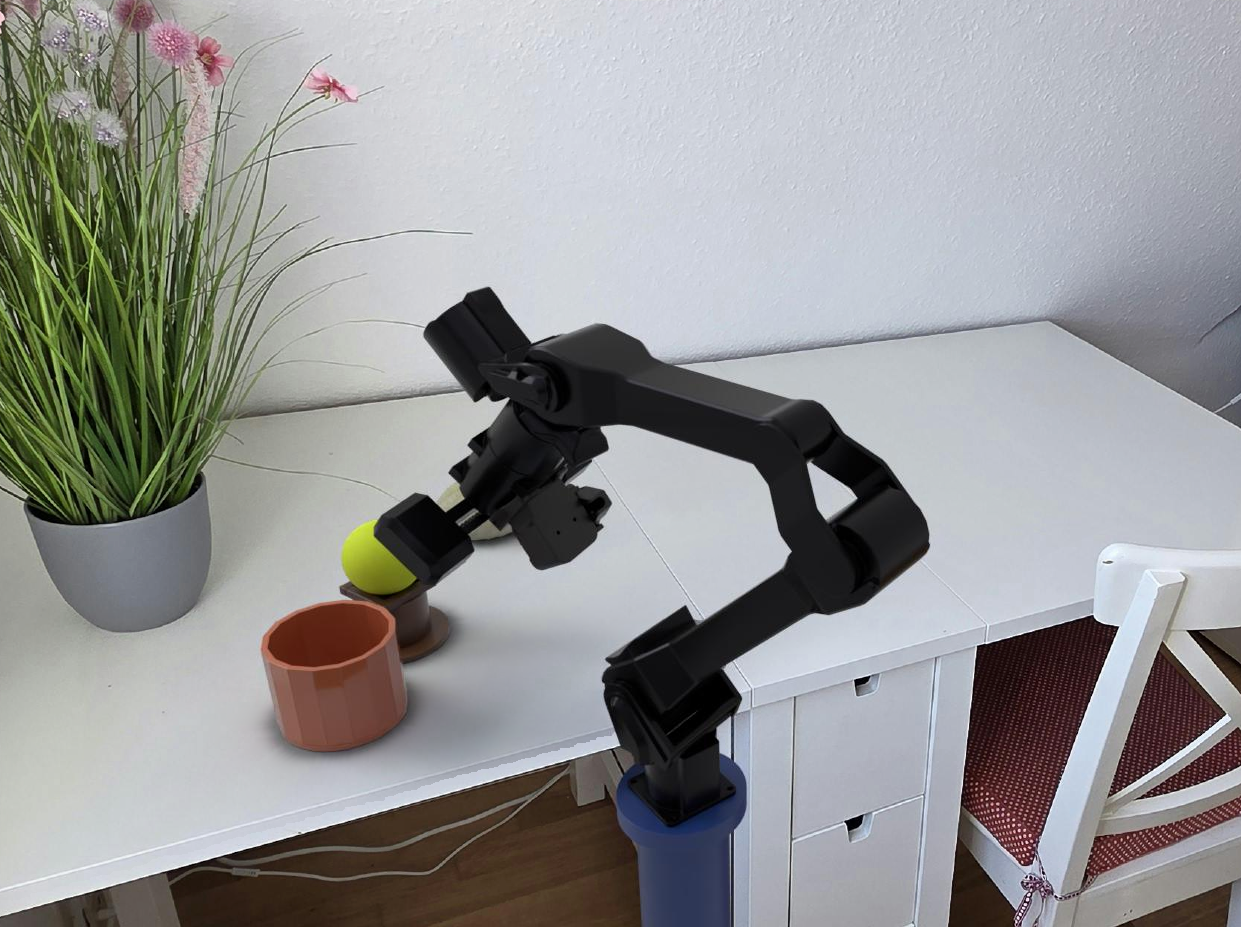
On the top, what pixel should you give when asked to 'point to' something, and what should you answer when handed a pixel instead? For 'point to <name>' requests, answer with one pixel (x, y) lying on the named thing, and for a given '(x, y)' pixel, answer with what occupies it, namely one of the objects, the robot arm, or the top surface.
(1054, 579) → the top surface
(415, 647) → the ball stand
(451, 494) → the sea urchin shell
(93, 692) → the top surface
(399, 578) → the tennis ball
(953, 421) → the top surface
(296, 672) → the terracotta pot
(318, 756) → the top surface
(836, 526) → the robot arm
